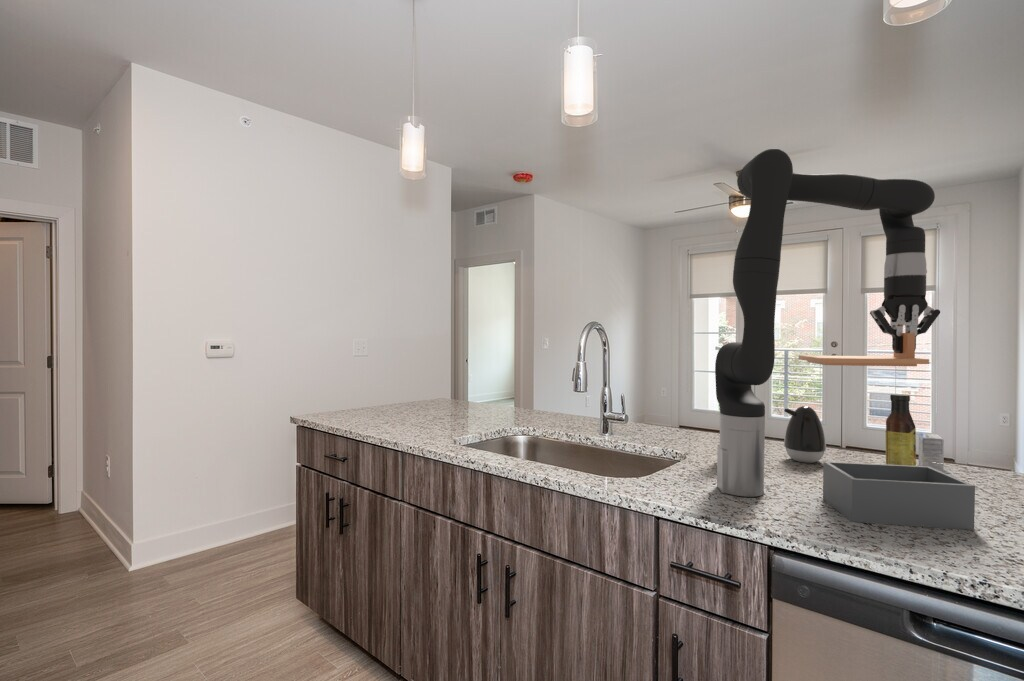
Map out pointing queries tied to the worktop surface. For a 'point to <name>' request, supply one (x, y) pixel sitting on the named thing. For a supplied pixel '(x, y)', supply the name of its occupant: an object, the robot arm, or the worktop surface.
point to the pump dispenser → (804, 436)
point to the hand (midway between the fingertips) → (903, 352)
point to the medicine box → (931, 451)
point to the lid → (873, 357)
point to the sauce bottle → (900, 433)
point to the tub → (899, 495)
